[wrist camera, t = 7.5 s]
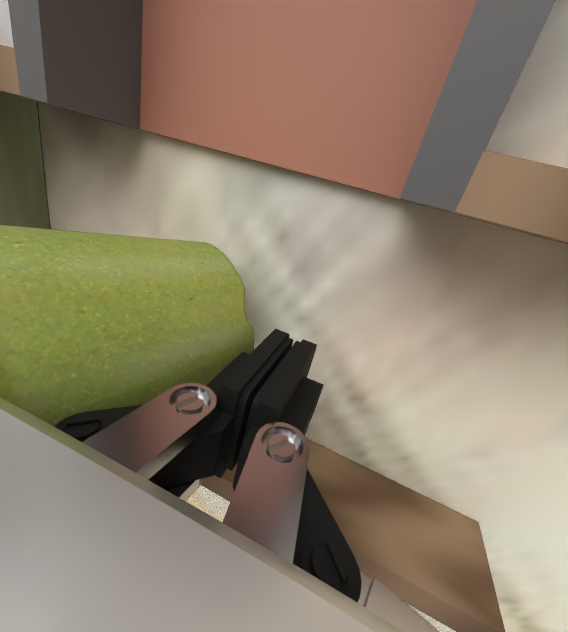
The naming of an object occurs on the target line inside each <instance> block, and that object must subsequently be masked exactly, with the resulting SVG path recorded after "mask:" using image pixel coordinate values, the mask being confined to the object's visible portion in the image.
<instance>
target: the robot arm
mask: <svg viewBox="0 0 568 632" xmlns="http://www.w3.org/2000/svg"><path fill="white" fill-rule="evenodd" d="M292 343H293V339H290V338H289V334H288V333H285V332H283V331H280V330H277V329H275V330H274V331H273V332H272V333H271V334H270V335H269V336H268V337H267V338H266V339H265V340H264V341H263V342H262V343H261V344H260V345H259V346H258V347H257V348H256V349H255V350H254V351H253V352H252V353H251V354H248V353H245V352H242V353H240V354H239V355H238V356H237V357H236V358H235V359H234V360H233V361H232V362H231V363H230V364H229V365H228V366H226V367H225V368H224V369H223V370H222V371H221V372H220V373H219V374H218V375H217V376H216V377H215V378H214V379H213V380H212V381H210V382H209V383H208V384H207V385H206V386H205V385H202V384H198V383H183V384H179V385H176V386H174V387H172V388H170V389H169V390H167V391H165V392H164V393H162V394H160V395H159V396H157V397H156V398H154V399H152V400H151V401H149V402H147V403H146V404H144V405H136V406H128V407H120V408H111V409H103V410H95V411H87V412H82V413H77V414H74V415H72V416H69V417H67V418H65V419H63V420H62V421H60V422H59V423H57V424H56V425H55V426H52V425H50V424H48V423H47V422H45V421H43V420H41V419H39V418H38V417H36V416H34V415H32V414H30V413H28V412H26V411H25V410H23V409H21V408H19V407H17V406H15V405H13V404H11V403H10V402H8V401H6V400H4V399H2V398H0V632H439V631H438V630H437V629H436V628H435V627H433V626H432V625H431V624H430V623H429V622H428V621H426V620H425V619H424V618H423V617H422V616H420V615H419V614H418V613H417V612H416V611H414V610H413V609H412V608H411V607H410V606H409V605H407V604H406V603H405V602H404V601H403V600H401V599H400V598H399V597H398V596H397V595H395V594H394V593H393V592H392V591H391V590H390V589H388V588H387V587H386V586H385V585H384V584H382V583H381V582H380V581H379V580H378V579H376V578H374V580H373V581H371V580H370V579H369V578H368V577H367V576H365V575H364V574H363V573H362V572H361V571H360V569H359V566H358V564H357V561H356V559H355V557H354V555H353V553H352V551H351V549H350V547H349V545H348V543H347V541H346V540H345V538H344V536H343V534H342V532H341V530H340V528H339V526H338V525H337V523H336V521H335V519H334V517H333V515H332V513H331V512H330V510H329V508H328V506H327V504H326V502H325V500H324V498H323V497H322V495H321V493H320V491H319V489H318V487H317V485H316V483H315V482H314V480H313V478H312V476H311V474H310V472H309V470H308V468H307V465H308V458H309V444H308V441H307V439H306V437H305V433H306V431H307V428H308V426H309V423H310V421H311V418H312V415H313V413H314V410H315V407H316V405H317V402H318V399H319V396H320V394H321V391H322V388H323V384H320V383H318V382H316V381H313V380H311V379H308V378H307V375H308V372H309V369H310V366H311V363H312V359H313V356H314V353H315V350H316V347H317V344H314V343H311V342H309V341H306V340H304V339H303V340H302V341H301V342H298V341H296V342H295V343H294V345H293V346H292ZM237 463H238V464H237ZM236 464H237V468H236V472H235V476H234V481H233V485H232V487H233V490H234V494H233V497H232V499H231V502H230V505H229V507H228V510H227V512H226V515H225V518H224V520H223V523H222V522H220V521H218V520H217V519H215V518H213V517H211V516H210V515H208V514H206V513H205V512H203V511H201V510H199V509H198V508H196V507H194V506H192V505H191V504H189V503H187V502H186V501H187V500H188V499H189V497H190V496H191V495H192V494H193V493H194V492H195V491H196V490H197V489H198V488H199V486H200V485H201V483H202V481H203V478H207V477H211V476H214V475H215V476H217V477H219V478H220V479H221V477H222V476H223V474H224V473H225V471H226V470H227V469H228V470H230V471H232V470H233V469H234V467H235V466H236Z"/></svg>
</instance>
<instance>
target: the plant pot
mask: <svg viewBox="0 0 568 632" xmlns="http://www.w3.org/2000/svg"><path fill="white" fill-rule="evenodd" d="M244 296H245V289H244V286H243V284H242V281H241V279H240V277H239V275H238V273H237V271H236V270H235V268H234V266H233V265H232V263H231V262H230V261H229V259H228V258H227V257H226V256H225V255H224V254H223V253H222V252H221V251H220V250H219V249H217V248H216V247H214V246H213V245H211V244H208V243H205V242H192V241H181V240H168V239H155V238H144V237H132V236H121V235H109V234H97V233H85V232H73V231H62V230H51V229H40V228H29V227H17V226H5V225H0V398H2V399H4V400H6V401H8V402H10V403H11V404H13V405H15V406H17V407H19V408H21V409H23V410H25V411H26V412H28V413H30V414H32V415H34V416H36V417H38V418H39V419H41V420H43V421H45V422H47V423H48V424H50V425H52V426H55V425H56V424H57V423H59V422H60V421H62V420H63V419H65V418H67V417H69V416H72V415H74V414H77V413H82V412H87V411H95V410H103V409H111V408H120V407H128V406H136V405H144V404H146V403H147V402H149V401H151V400H152V399H154V398H156V397H157V396H159V395H160V394H162V393H164V392H165V391H167V390H169V389H170V388H172V387H174V386H176V385H179V384H183V383H198V384H202V385H205V386H206V385H207V384H208V383H209V382H210V381H212V380H213V379H214V378H215V377H216V376H217V375H218V374H219V373H220V372H221V371H222V370H223V369H224V368H225V367H226V366H228V365H229V364H230V363H231V362H232V361H233V360H234V359H235V358H236V357H237V356H238V355H239V354H240V353H242V352H245V353H248V354H251V353H252V352H253V351H254V331H253V329H252V327H251V326H250V324H249V323H248V321H247V318H246V314H245V309H244Z"/></svg>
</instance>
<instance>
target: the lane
mask: <svg viewBox="0 0 568 632" xmlns="http://www.w3.org/2000/svg"><path fill="white" fill-rule="evenodd" d="M36 101H37V102H41V101H38V100H34V99H31V98H27V97H24V96H20V91H19V83H18V75H17V67H16V59H15V51H14V48H12V47H7V46H2V45H0V225H5V226H17V227H29V228H40V229H50V225H49V216H48V206H47V197H46V187H45V178H44V168H43V159H42V149H41V140H40V130H39V121H38V111H37V102H36ZM41 103H45V102H41ZM45 104H48V103H45ZM48 105H52V104H48ZM52 106H55V105H52ZM56 107H59V106H56ZM59 108H63V107H59ZM63 109H66V108H63ZM67 110H70V109H67ZM71 111H73V110H71ZM74 112H77V111H74ZM78 113H80V112H78ZM82 114H84V113H82ZM85 115H87V114H85ZM89 116H91V115H89ZM93 117H94V116H93ZM97 118H98V117H97ZM100 119H101V118H100ZM104 120H105V119H104ZM111 122H112V121H111ZM115 123H116V122H115ZM438 210H440V209H438ZM442 211H446V212H450V213H453V214H457V215H461V216H464V217H468V218H472V219H476V220H479V221H483V222H487V223H490V224H494V225H498V226H502V227H505V228H509V229H513V230H516V231H520V232H524V233H528V234H531V235H535V236H539V237H542V238H546V239H550V240H554V241H557V242H561V243H565V244H568V169H566V168H562V167H557V166H553V165H548V164H544V163H539V162H534V161H530V160H525V159H521V158H516V157H511V156H507V155H502V154H498V153H493V152H489V151H484V152H483V154H482V156H481V158H480V160H479V162H478V164H477V166H476V169H475V171H474V173H473V175H472V177H471V179H470V181H469V183H468V185H467V188H466V190H465V192H464V194H463V196H462V198H461V200H460V202H459V204H458V206H457V209H456V211H455V212H453V211H447V210H442ZM307 441H308V444H309V458H308V465H307V468H308V470H309V472H310V474H311V476H312V478H313V480H314V482H315V483H316V485H317V487H318V489H319V491H320V493H321V495H322V497H323V498H324V500H325V502H326V504H327V506H328V508H329V510H330V512H331V513H332V515H333V517H334V519H335V521H336V523H337V525H338V526H339V528H340V530H341V532H342V534H343V536H344V538H345V540H346V541H347V543H348V545H349V547H350V549H351V551H352V553H353V555H354V557H355V559H356V561H357V564H358V566H359V569H360V571H361V572H362V573H363V574H364V575H365V576H367V577H368V578H369V579H370V580H371V581H373V580H374V578H376V579H378V580H379V581H380V582H381V583H382V584H384V585H385V586H386V587H387V588H388V589H390V590H391V591H392V592H393V593H394V594H395V595H397V596H398V597H399V598H400V599H401V600H403V601H404V602H406V603H408V604H409V605H411V606H413V607H415V608H416V609H418V610H420V611H422V612H423V613H425V614H427V615H429V616H430V617H432V618H434V619H436V620H437V621H439V622H441V623H443V624H444V625H446V626H448V627H449V628H451V629H453V630H455V631H456V632H505V629H504V625H503V621H502V617H501V613H500V609H499V604H498V600H497V596H496V592H495V588H494V584H493V580H492V576H491V572H490V568H489V563H488V559H487V555H486V551H485V547H484V543H483V539H482V535H481V531H480V527H479V523H478V522H476V521H474V520H472V519H470V518H468V517H466V516H464V515H462V514H460V513H458V512H456V511H454V510H451V509H449V508H447V507H445V506H443V505H441V504H439V503H437V502H435V501H433V500H431V499H429V498H427V497H425V496H423V495H421V494H419V493H417V492H414V491H412V490H410V489H408V488H406V487H404V486H402V485H400V484H398V483H396V482H394V481H392V480H390V479H388V478H386V477H384V476H382V475H380V474H377V473H375V472H373V471H371V470H369V469H367V468H365V467H363V466H361V465H359V464H357V463H355V462H353V461H351V460H349V459H347V458H345V457H343V456H340V455H338V454H336V453H334V452H332V451H330V450H328V449H326V448H324V447H322V446H320V445H318V444H316V443H314V442H312V441H310V440H308V439H307ZM237 464H238V463H237ZM237 464H236V466H235V467H234V469H233V470H232V471H230V470H228V469H227V470H226V471H225V473H224V474H223V476H222V477H221V479H220V478H219V477H217V476H215V475H214V476H211V477H207V478H203V481H202V483H201V485H202V486H204V487H206V488H207V489H209V490H211V491H212V492H214V493H216V494H218V495H219V496H221V497H223V498H225V499H226V500H228V501H230V502H231V499H232V497H233V494H234V490H233V487H232V485H233V481H234V476H235V472H236V468H237Z"/></svg>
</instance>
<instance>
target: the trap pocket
mask: <svg viewBox="0 0 568 632" xmlns="http://www.w3.org/2000/svg"><path fill="white" fill-rule="evenodd" d="M554 2H555V0H8V3H9V11H10V19H11V27H12V35H13V43H14V51H15V59H16V67H17V75H18V83H19V91H20V96H24V97H27V98H31V99H34V100H38V101H41V102H45V103H48V104H52V105H55V106H59V107H63V108H66V109H70V110H73V111H77V112H80V113H84V114H87V115H91V116H94V117H98V118H101V119H105V120H108V121H112V122H116V123H119V124H123V125H126V126H130V127H134V128H137V129H141V130H145V131H149V132H152V133H156V134H160V135H163V136H167V137H171V138H175V139H178V140H182V141H186V142H189V143H193V144H197V145H201V146H204V147H208V148H212V149H215V150H219V151H223V152H227V153H230V154H234V155H238V156H241V157H245V158H249V159H253V160H256V161H260V162H264V163H267V164H271V165H275V166H279V167H282V168H286V169H290V170H293V171H297V172H301V173H305V174H308V175H312V176H316V177H320V178H323V179H327V180H331V181H334V182H338V183H342V184H346V185H349V186H353V187H357V188H360V189H364V190H368V191H372V192H375V193H379V194H383V195H386V196H390V197H394V198H398V199H401V200H405V201H409V202H412V203H416V204H420V205H424V206H427V207H431V208H435V209H440V210H447V211H453V212H455V211H456V209H457V206H458V204H459V202H460V200H461V198H462V196H463V194H464V192H465V190H466V188H467V185H468V183H469V181H470V179H471V177H472V175H473V173H474V171H475V169H476V166H477V164H478V162H479V160H480V158H481V156H482V154H483V152H484V150H485V148H486V145H487V143H488V141H489V139H490V137H491V135H492V133H493V131H494V129H495V127H496V124H497V122H498V120H499V118H500V116H501V114H502V112H503V110H504V108H505V105H506V103H507V101H508V99H509V97H510V95H511V93H512V91H513V89H514V87H515V84H516V82H517V80H518V78H519V76H520V74H521V72H522V70H523V68H524V66H525V63H526V61H527V59H528V57H529V55H530V53H531V51H532V49H533V47H534V45H535V42H536V40H537V38H538V36H539V34H540V32H541V30H542V28H543V26H544V23H545V21H546V19H547V17H548V15H549V13H550V11H551V9H552V7H553V5H554Z"/></svg>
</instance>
